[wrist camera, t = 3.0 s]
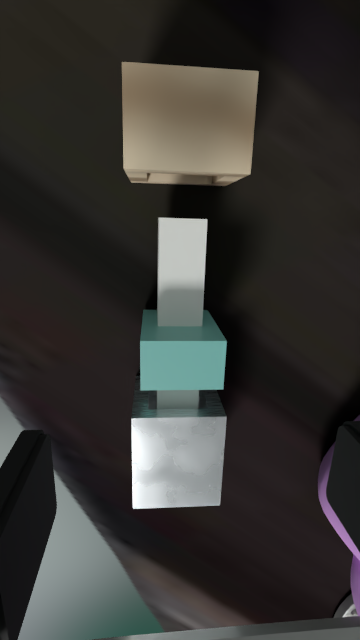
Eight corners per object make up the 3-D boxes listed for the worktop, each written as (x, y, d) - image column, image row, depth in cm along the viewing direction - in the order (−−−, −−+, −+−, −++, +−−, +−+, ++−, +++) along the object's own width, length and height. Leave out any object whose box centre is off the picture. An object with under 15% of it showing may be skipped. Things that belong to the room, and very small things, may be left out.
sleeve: (206, 449, 29) (219, 505, 23) (136, 451, 29) (132, 508, 23) (211, 375, 27) (226, 416, 21) (136, 375, 27) (131, 418, 21)
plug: (200, 446, 29) (214, 512, 22) (143, 448, 28) (140, 516, 22) (212, 219, 24) (235, 219, 17) (143, 217, 23) (139, 216, 17)
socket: (225, 186, 23) (250, 173, 17) (131, 182, 23) (123, 168, 17) (229, 112, 22) (258, 71, 16) (130, 106, 21) (121, 62, 15)
